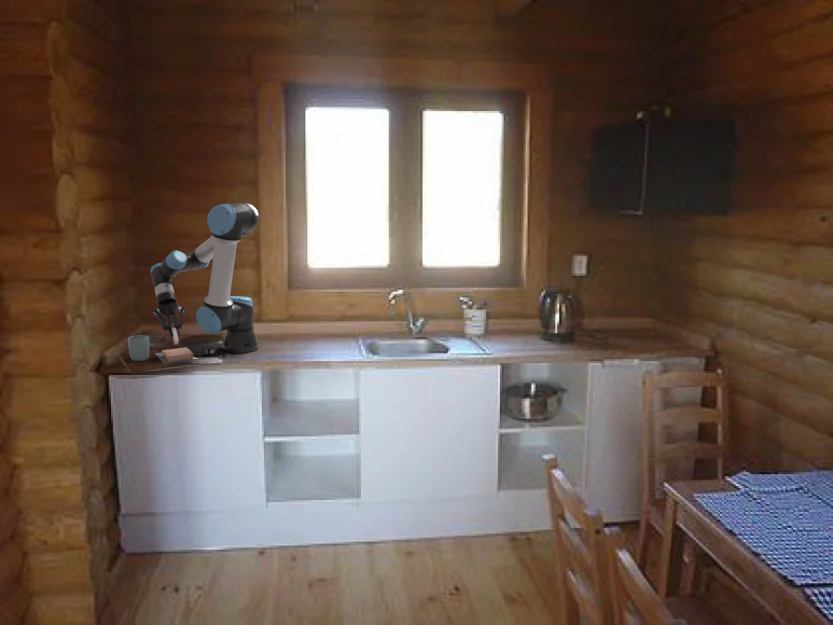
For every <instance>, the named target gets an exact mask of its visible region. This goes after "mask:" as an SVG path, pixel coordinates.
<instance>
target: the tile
mask: <svg viewBox="0 0 833 625" xmlns="http://www.w3.org/2000/svg"><path fill="white" fill-rule="evenodd" d="M161 353H162V355H163V356H164V357H165V359H166V360H167V361H177V360H185V359H192V358H193V354H194V353H193V351H192V350H190V349H189V348H188V347H179V348H170V349H163V350H161Z"/></svg>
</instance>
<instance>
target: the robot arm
mask: <svg viewBox="0 0 833 625" xmlns="http://www.w3.org/2000/svg"><path fill="white" fill-rule="evenodd" d="M259 222H260V215H259V211H258V209H257V208H256V207H255V206H254V205H252V204H250V203H249V202H248V203H247V202H237V203H236V202H235V203H222V204H219V205H218V204H217V205H215V206H213V207H212V208H211V210H210V211H209V212H208V215H207V220H206V223H207V227H208V229H209V231H210V232H211V236H210V237H209V238H207V240H205V241H204V242H203V243H201V244H200V245H199V246H198V247H196V248H195V249H194V250H192V251H191V252H187V253H184V252H182V251H179V250H173V251H172V252H170V254H169V253H168V255H167V256H166V257H165V259H164V260H163V261H162V262H159V263H156V264H154V265H151V268H150V278H151V280H152V283H153V284H152V286H153V288H154V293H155V298H156V302H157V309H156V308H154V309H153V313H152V315H154V316H155V317H156V318H157V321H158V322H159V324H160V326H161V327H162V330H163V331H167V332H168V334H169V337H170V338H172V340H173V344H174V345H179V342H180V341H179V340H180V339H179V337H180V330H181V329H182V328H183V321H184V320H183V318H184V312H185V306H180V305H179V304H178V302H177V298H176V294H175V290H174V286H173V282H172V280H173V279H174V278H175V277H176V276H177V275H178V274H179V273H183V272H189V271H195V270H202V269H204V268H207V267H208V266H209V264H210V263H211V262H210V261H212V263H211V271H210V278H209V280H210V281H209V286H208V287H209V289H208V295H207V296H205V297H204V298H203V304H202V306H200V307H199V308H198V309H197V310H196V313H195V319H196V322H197V325H198V326H199V328H200V329H201V331H203V332H204V333H207V334H218V333H219V332H223V331H225V336H224V339H223V343H222V349H223V351H225V352H226V353H230V354H232V353H233V354H243V353H250V352H254V351H256V350H258V349H259V348H260V347H259V341H258V339H257V336H256V333H255V329H254V327H255V326H254V324H255V322H254V305H253V299H252V298H251V297H249V296H238V295H235V296H234V295H232V296H231V292H232V284H233V275H234V268H235V261H236V254H237V253H236V252H237V247H238V243H239V242H241V241H242V238H243V237H245V236H248V235H249V234H250V233H251V232H253V231H254V230H255V229H256V227H257V226H258V225H259ZM177 311H178V312H179V316H178V317H179V319H177V315H176V313H177ZM161 314H162V315H164V318H163V317H162V315H161ZM164 319H165V320H164ZM171 319H172V320H171ZM171 321H172V323H173V324H172V323H171ZM172 325H173V326H172Z"/></svg>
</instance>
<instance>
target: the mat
mask: <svg viewBox="0 0 833 625" xmlns="http://www.w3.org/2000/svg"><path fill="white" fill-rule="evenodd" d="M154 354H155V355H156V357H157V358H158V359H159V360H160V361H161V363H163V364H164V365H165V364H170V363H171V364H172V363H178V362H179V363H180V362H188V361H190V360H189V359H185V360H177V361H167V360H166V359H165V357H164V356H163V355H162V352H155V353H154Z"/></svg>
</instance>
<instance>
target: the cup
mask: <svg viewBox="0 0 833 625" xmlns="http://www.w3.org/2000/svg"><path fill="white" fill-rule="evenodd" d="M149 338H150V337H149V336H148V334H147V335H146V334H135V335H131V336H128V337H127V342H128V343H127V344H128V353H129V356H130V359H131V360H132V361H133V362H140V361H146V360H148V359H149V357H150V339H149Z"/></svg>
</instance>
